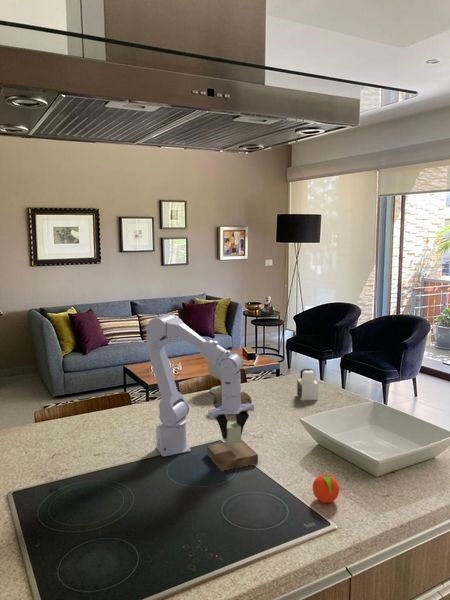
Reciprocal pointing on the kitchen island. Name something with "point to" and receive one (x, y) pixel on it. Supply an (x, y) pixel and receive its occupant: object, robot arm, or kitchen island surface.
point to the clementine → (325, 488)
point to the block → (233, 433)
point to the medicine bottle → (307, 385)
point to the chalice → (216, 373)
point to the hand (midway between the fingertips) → (231, 436)
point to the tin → (218, 399)
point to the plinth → (232, 455)
